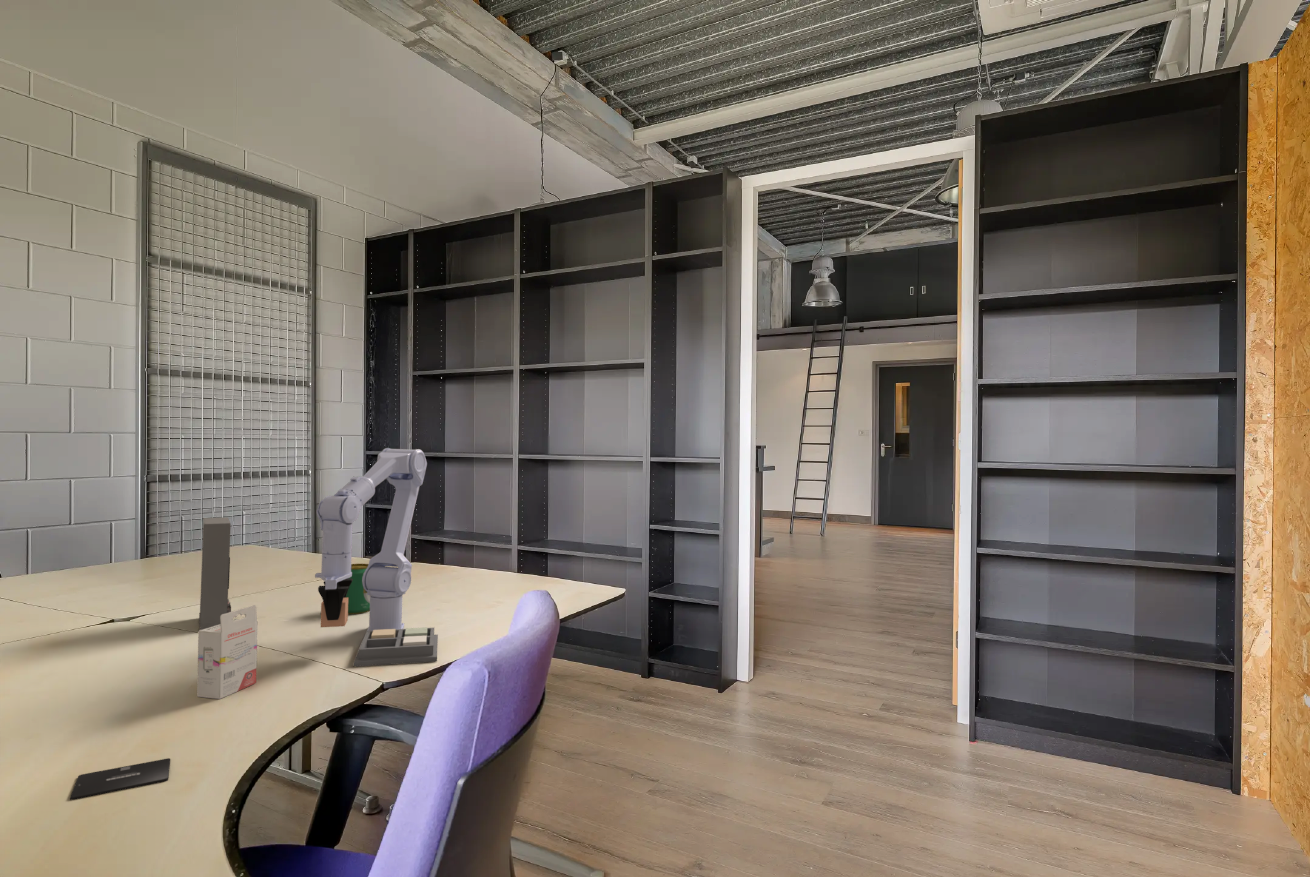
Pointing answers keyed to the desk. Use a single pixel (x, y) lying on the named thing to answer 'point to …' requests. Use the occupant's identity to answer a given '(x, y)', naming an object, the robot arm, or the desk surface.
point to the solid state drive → (121, 778)
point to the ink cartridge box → (228, 654)
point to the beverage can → (358, 591)
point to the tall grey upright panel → (215, 571)
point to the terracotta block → (342, 618)
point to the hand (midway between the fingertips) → (334, 616)
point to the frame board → (397, 647)
